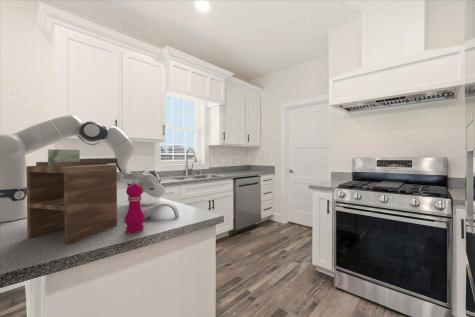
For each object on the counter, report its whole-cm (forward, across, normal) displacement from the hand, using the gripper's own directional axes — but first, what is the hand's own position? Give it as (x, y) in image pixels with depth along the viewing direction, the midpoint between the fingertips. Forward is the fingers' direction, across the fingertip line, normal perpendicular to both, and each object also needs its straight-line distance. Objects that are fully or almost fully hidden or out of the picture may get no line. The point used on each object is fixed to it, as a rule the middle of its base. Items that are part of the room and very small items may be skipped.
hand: (129, 172), depth 111 cm
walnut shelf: (+14, 0, +32) cm, 34 cm away
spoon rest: (-9, +16, +20) cm, 27 cm away
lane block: (+22, 0, +6) cm, 23 cm away
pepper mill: (+7, +21, +28) cm, 36 cm away
